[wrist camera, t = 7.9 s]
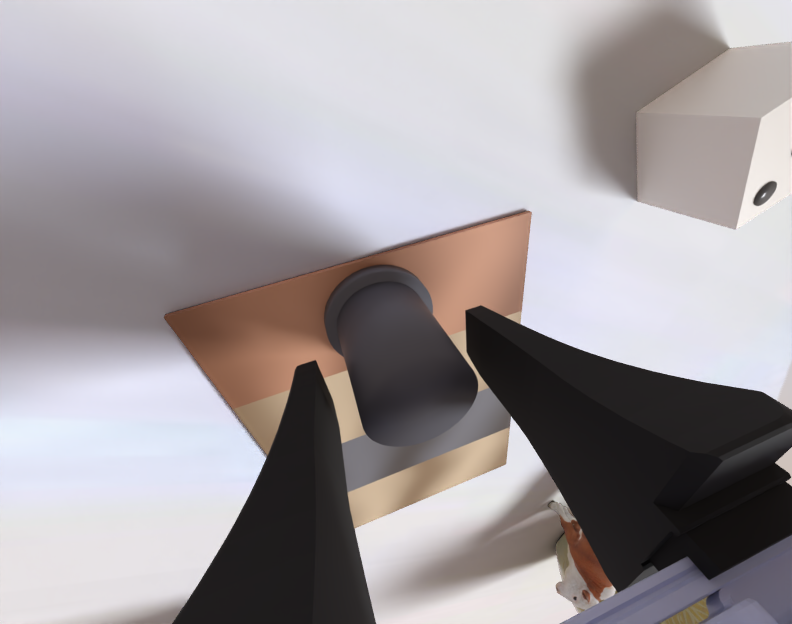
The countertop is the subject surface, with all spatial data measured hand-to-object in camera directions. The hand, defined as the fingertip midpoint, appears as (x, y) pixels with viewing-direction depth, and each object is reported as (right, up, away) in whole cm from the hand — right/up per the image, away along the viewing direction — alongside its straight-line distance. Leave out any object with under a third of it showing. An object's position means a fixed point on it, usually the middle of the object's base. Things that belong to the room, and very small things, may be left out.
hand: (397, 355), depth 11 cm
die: (+12, +9, +2) cm, 15 cm away
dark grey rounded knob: (-1, +1, +2) cm, 3 cm away
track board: (0, -4, +7) cm, 8 cm away
